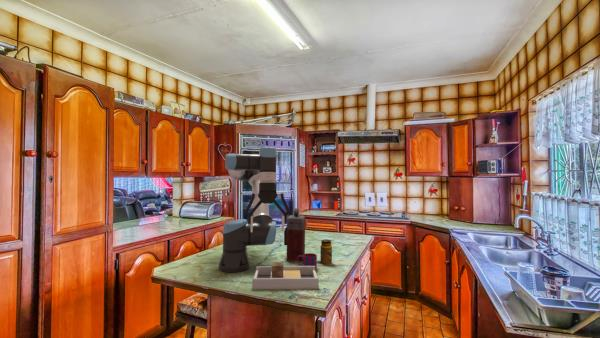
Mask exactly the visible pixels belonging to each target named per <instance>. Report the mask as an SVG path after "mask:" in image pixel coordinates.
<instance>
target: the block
mask: <svg viewBox="0 0 600 338" xmlns="http://www.w3.org/2000/svg"><path fill="white" fill-rule="evenodd" d="M284 264H285V263H284V262H283V261H277V262H274V261H273V262H272V263H271V266H272V278H283V270H284V266H285V265H284Z"/></svg>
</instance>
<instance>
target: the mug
mask: <svg viewBox="0 0 600 338" xmlns="http://www.w3.org/2000/svg"><path fill="white" fill-rule="evenodd" d="M299 256H301V257H302V258H303V262H302V264H301V263H300V262H298V257H299ZM299 256H298V257H297V261H296V263H297V265H298V266H315V271H316V270H317V269H318V264H317V261H318V260H317V259H318V257H317V256H318V255H317V253H314V252H307V253H305V254H304V255H303V256H302V255H299Z"/></svg>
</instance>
